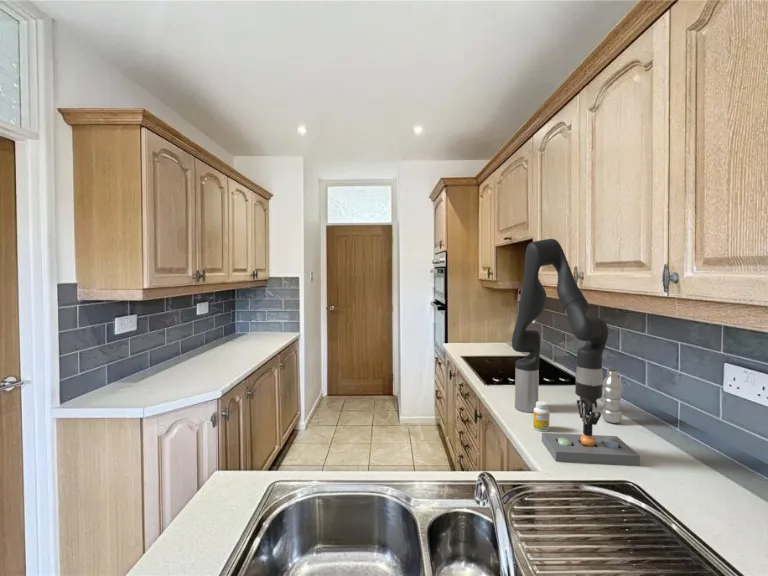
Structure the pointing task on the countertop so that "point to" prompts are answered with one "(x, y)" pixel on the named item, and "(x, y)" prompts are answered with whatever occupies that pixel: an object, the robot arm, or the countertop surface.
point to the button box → (590, 450)
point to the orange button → (587, 441)
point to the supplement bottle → (541, 416)
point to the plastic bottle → (612, 397)
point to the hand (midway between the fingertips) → (587, 435)
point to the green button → (564, 442)
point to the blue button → (610, 444)
